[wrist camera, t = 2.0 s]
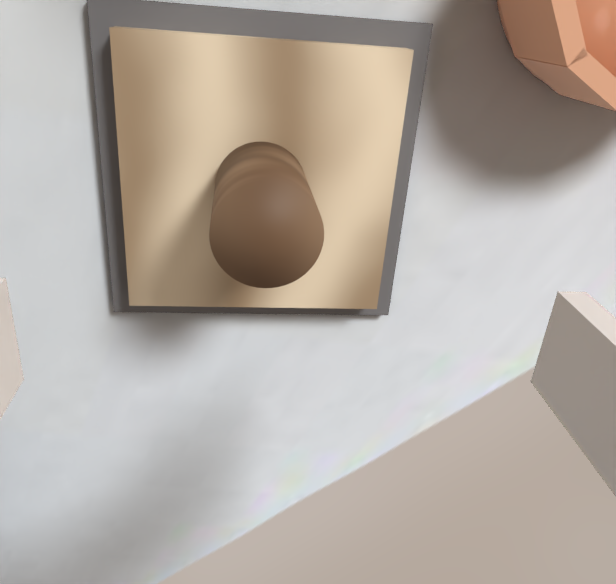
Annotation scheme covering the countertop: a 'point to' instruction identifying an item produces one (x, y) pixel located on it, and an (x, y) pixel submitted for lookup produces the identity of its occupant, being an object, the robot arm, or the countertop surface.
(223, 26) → the mat
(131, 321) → the countertop surface
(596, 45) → the bowl
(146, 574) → the countertop surface
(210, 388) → the countertop surface
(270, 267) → the lid
